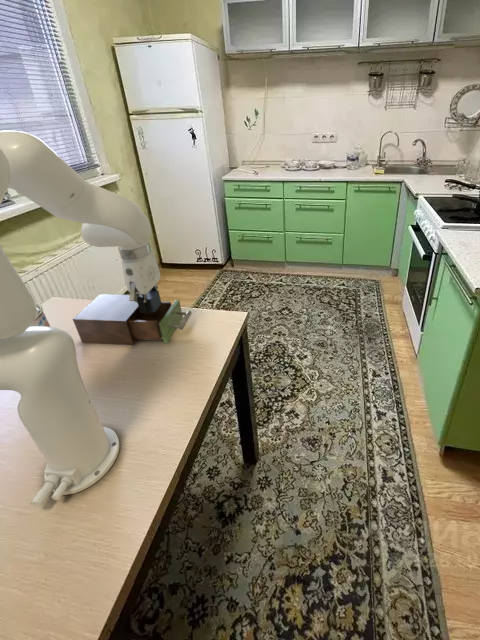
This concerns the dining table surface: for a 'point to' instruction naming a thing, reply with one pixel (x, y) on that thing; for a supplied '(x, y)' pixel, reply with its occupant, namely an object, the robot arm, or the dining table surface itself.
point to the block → (153, 299)
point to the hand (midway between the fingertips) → (150, 306)
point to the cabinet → (107, 320)
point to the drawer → (159, 322)
